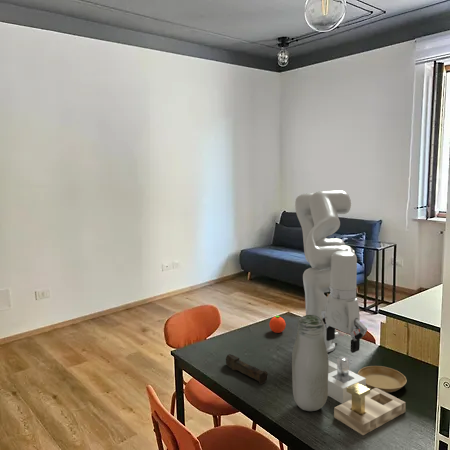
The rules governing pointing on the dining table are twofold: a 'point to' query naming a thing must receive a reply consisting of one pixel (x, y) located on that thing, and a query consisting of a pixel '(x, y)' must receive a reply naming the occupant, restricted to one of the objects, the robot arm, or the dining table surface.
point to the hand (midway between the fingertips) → (342, 345)
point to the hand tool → (246, 368)
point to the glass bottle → (310, 364)
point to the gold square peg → (358, 397)
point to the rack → (341, 384)
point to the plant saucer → (383, 378)
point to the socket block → (370, 411)
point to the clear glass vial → (343, 369)
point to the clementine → (277, 324)
